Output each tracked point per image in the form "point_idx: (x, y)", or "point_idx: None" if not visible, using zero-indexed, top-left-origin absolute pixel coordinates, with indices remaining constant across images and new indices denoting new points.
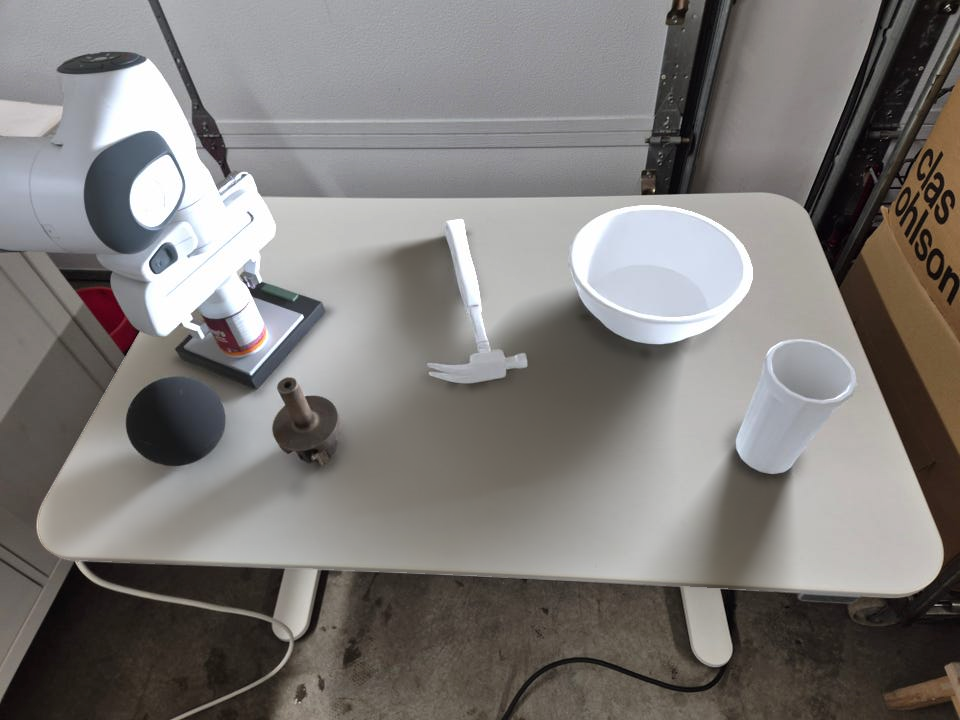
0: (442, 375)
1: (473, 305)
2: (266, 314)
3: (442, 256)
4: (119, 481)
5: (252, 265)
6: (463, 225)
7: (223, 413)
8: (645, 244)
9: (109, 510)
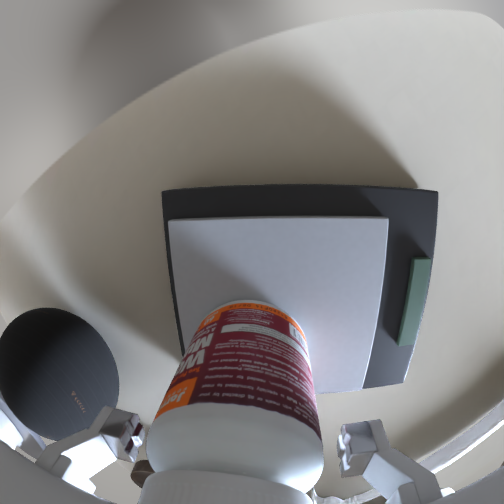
0: (312, 497)
1: None
2: (342, 334)
3: (490, 403)
4: (23, 285)
5: (383, 485)
6: None
7: None
8: None
9: (12, 300)
